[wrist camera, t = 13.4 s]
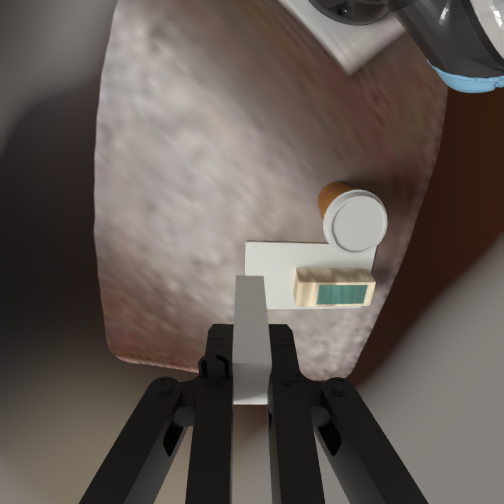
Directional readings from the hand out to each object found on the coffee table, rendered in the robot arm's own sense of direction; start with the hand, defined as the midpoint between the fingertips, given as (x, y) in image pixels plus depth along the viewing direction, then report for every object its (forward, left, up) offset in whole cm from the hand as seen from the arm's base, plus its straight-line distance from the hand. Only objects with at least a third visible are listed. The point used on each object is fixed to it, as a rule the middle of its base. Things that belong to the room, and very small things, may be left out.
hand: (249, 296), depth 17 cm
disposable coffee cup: (-11, +11, -35) cm, 38 cm away
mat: (-1, +23, -34) cm, 41 cm away
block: (+2, +21, -32) cm, 38 cm away
